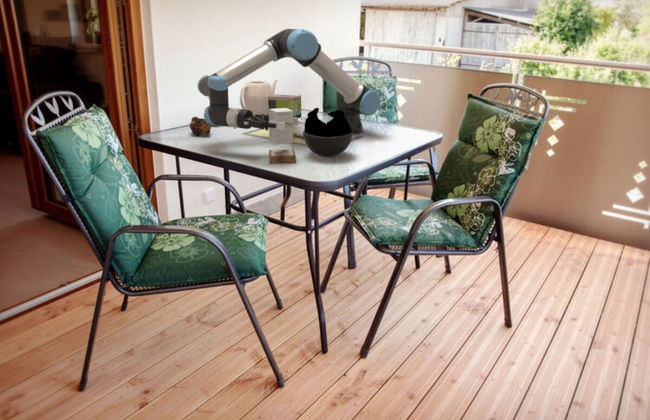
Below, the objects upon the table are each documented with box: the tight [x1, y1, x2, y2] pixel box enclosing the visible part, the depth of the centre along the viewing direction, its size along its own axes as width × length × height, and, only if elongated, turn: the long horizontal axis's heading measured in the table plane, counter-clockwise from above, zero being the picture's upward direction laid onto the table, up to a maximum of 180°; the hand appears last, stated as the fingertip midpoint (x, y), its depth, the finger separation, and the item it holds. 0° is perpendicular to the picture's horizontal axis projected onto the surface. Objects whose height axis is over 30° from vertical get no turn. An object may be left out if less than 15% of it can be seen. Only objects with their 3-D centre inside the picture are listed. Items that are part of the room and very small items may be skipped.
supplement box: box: [268, 108, 294, 146], centre depth 191 cm, size 7×7×13 cm
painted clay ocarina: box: [189, 116, 212, 137], centre depth 234 cm, size 10×15×8 cm, turn 45°
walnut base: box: [268, 148, 297, 165], centre depth 195 cm, size 10×10×3 cm
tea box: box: [268, 93, 302, 119], centre depth 260 cm, size 15×10×15 cm, turn 71°
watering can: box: [239, 79, 278, 116], centre depth 280 cm, size 16×27×19 cm, turn 135°
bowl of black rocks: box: [302, 107, 354, 158], centre depth 199 cm, size 20×20×19 cm
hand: (291, 123), depth 189 cm, fingers closed on supplement box, 10 cm apart
